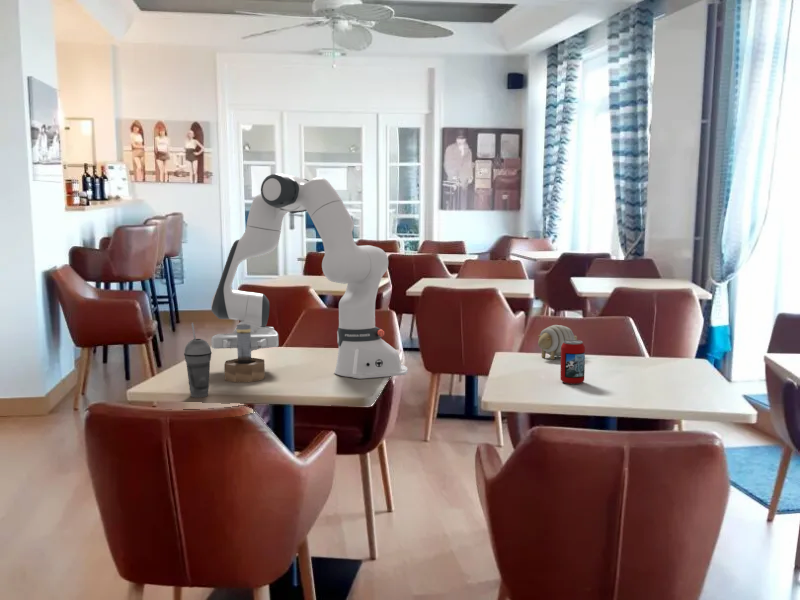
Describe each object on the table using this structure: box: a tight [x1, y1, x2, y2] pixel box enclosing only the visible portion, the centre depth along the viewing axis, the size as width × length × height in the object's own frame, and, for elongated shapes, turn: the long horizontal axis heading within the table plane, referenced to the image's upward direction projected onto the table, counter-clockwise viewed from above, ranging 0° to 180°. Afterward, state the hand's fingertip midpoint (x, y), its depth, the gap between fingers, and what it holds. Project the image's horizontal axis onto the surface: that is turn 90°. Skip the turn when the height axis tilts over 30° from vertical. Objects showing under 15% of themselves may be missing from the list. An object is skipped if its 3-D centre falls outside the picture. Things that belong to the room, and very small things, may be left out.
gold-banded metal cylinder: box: [236, 324, 252, 364], centre depth 227 cm, size 4×4×16 cm
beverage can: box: [560, 339, 586, 385], centre depth 219 cm, size 7×7×12 cm
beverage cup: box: [183, 322, 213, 398], centre depth 206 cm, size 7×7×20 cm
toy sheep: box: [537, 324, 578, 361], centre depth 257 cm, size 11×17×11 cm, turn 127°
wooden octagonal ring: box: [224, 357, 266, 383], centre depth 228 cm, size 12×12×5 cm
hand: (244, 344), depth 227 cm, fingers open, 8 cm apart
